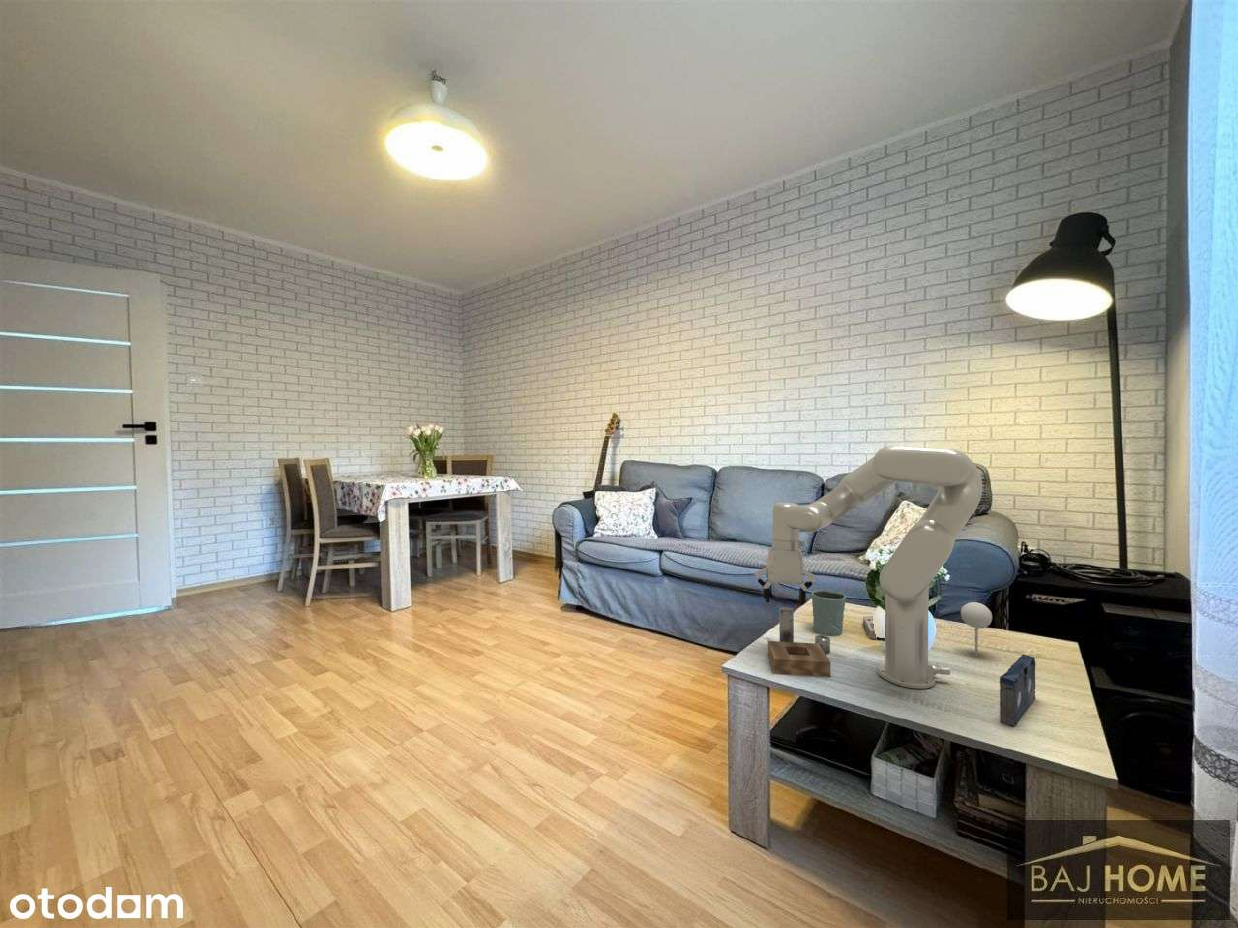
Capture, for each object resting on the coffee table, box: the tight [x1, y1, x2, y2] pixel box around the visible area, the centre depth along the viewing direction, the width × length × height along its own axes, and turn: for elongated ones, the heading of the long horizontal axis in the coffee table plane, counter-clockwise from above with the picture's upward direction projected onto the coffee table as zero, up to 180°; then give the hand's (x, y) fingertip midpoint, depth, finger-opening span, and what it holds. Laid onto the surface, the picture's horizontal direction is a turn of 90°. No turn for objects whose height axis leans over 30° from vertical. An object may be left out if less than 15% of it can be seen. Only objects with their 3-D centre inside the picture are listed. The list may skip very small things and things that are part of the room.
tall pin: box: [778, 606, 795, 642], centre depth 140 cm, size 4×4×12 cm
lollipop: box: [960, 601, 993, 657], centre depth 134 cm, size 7×7×15 cm
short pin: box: [814, 634, 831, 655], centre depth 139 cm, size 4×4×4 cm
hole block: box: [767, 640, 832, 678], centre depth 130 cm, size 14×12×4 cm
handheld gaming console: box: [862, 615, 878, 640], centre depth 152 cm, size 9×4×15 cm
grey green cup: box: [811, 589, 847, 637], centre depth 154 cm, size 10×10×12 cm
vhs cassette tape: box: [999, 654, 1037, 728], centre depth 106 cm, size 18×3×10 cm, turn 127°
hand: (784, 602), depth 140 cm, fingers open, 9 cm apart
